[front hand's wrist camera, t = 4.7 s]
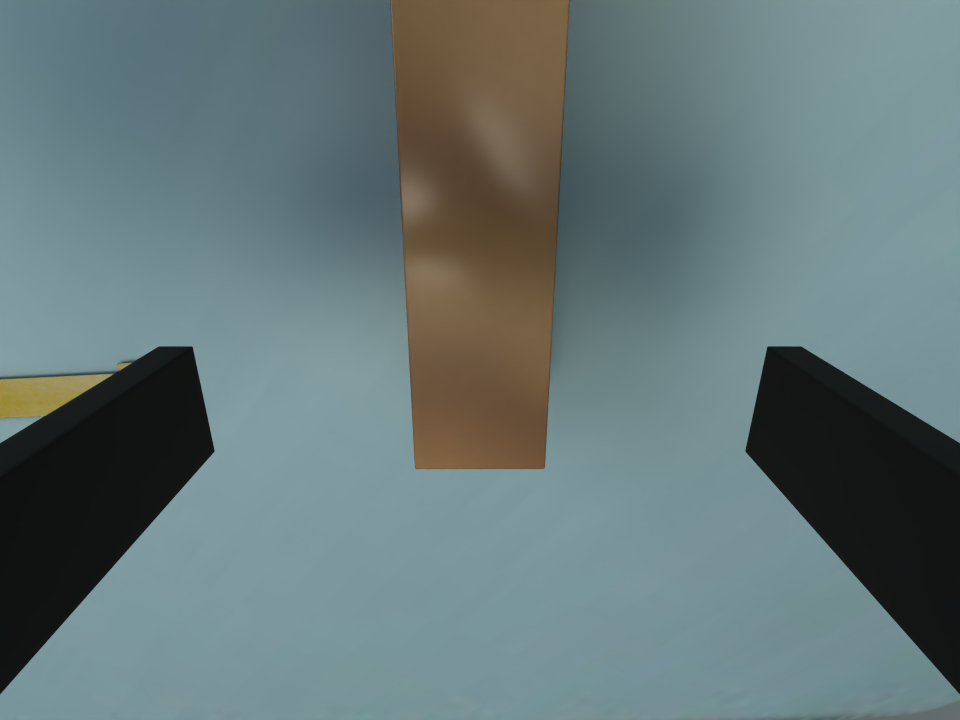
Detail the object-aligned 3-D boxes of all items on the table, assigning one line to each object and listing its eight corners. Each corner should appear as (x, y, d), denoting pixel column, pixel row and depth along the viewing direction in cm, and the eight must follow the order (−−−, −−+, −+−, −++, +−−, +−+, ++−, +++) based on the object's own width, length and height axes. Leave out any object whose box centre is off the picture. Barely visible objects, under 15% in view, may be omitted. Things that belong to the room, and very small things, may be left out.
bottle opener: (-156, 454, 30) (197, 437, 29) (-159, 456, 29) (196, 439, 29) (-200, 379, 28) (175, 360, 27) (-203, 380, 28) (174, 361, 27)
